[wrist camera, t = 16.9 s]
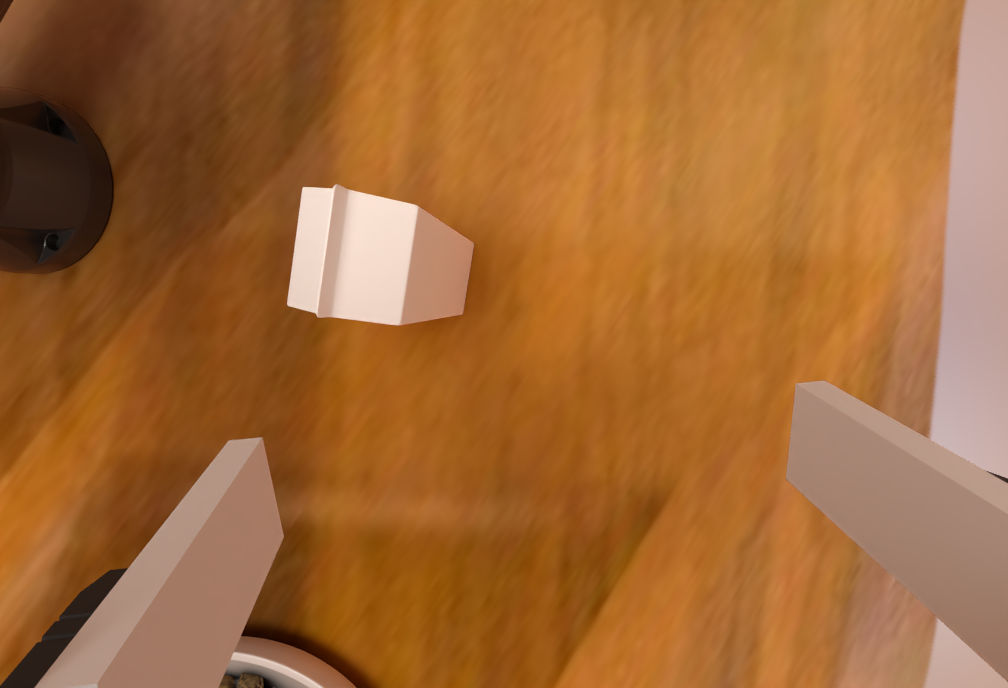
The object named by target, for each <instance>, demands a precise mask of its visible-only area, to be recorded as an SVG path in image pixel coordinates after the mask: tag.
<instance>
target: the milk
mask: <svg viewBox="0 0 1008 688" xmlns="http://www.w3.org/2000/svg"><path fill="white" fill-rule="evenodd" d="M473 249H474V243H473V242H472V241H470V240H469V239H467V238H466V237H464V236H463V235H461V234H460V233H458V232H456V231H455V230H453V229H452V228H450V227H449V226H447V225H446V224H444V223H443V222H441V221H440V220H438V219H437V218H435V217H434V216H432V215H431V214H429V213H428V212H426V211H425V210H423V209H422V208H420V207H419V206H417V205H414V204H410V203H405V202H401V201H396V200H392V199H388V198H383V197H379V196H374V195H370V194H366V193H361V192H357V191H352V190H348V189H346V188H344V187H342V186H340V185H337V184H336V185H335V186H334V187H333V188H315V187H303V189H302V195H301V203H300V210H299V218H298V225H297V233H296V240H295V248H294V255H293V263H292V270H291V278H290V285H289V293H288V300H287V305H288V306H290V307H294V308H298V309H301V310H305V311H309V312H313V313H316V315H317V317H319V318H324V317H334V318H342V319H350V320H358V321H366V322H373V323H381V324H389V325H405V324H411V323H417V322H422V321H428V320H434V319H440V318H445V317H451V316H457V315H462V314H463V310H464V304H465V298H466V292H467V286H468V280H469V273H470V267H471V261H472V255H473Z"/></svg>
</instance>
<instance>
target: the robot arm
mask: <svg viewBox="0 0 1008 688" xmlns="http://www.w3.org/2000/svg"><path fill="white" fill-rule="evenodd" d="M12 2H13V0H0V22H1V21H2V19H3V17H4V15H5V14H6V12H7V10H8V8H9V7H10V5H11V3H12ZM111 202H112V178H111V171H110V166H109V163H108V159H107V157H106V154H105V151H104V149H103V147H102V145H101V143H100V141H99V139H98V138H97V136H96V135H95V133H94V132H93V130H92V129H91V128H90V127H89V125H88V124H87V123H86V122H85V121H84V120H83V119H82V118H81V117H80V116H79V115H77V114H76V113H75V112H73V111H72V110H71V109H69V108H67V107H66V106H64V105H62V104H60V103H58V102H55V101H53V100H50V99H48V98H45V97H43V96H40V95H37V94H35V93H32V92H29V91H25V90H20V89H15V88H5V87H0V271H6V272H16V273H48V272H53V271H57V270H60V269H63V268H65V267H67V266H69V265H71V264H73V263H75V262H76V261H78V260H79V259H80V258H82V257H83V256H84V255H85V254H86V253H87V252H88V251H89V250H90V249H91V248H92V247H93V245H94V244H95V243H96V241H97V240H98V238H99V237H100V235H101V233H102V231H103V229H104V227H105V225H106V222H107V220H108V216H109V213H110V208H111ZM786 480H787V481H789V482H790V483H791V484H792V485H793V486H794V487H795V488H796V489H797V490H798V491H799V492H801V493H802V494H803V495H804V496H805V497H806V498H807V499H808V500H809V501H810V502H812V503H813V504H814V505H815V506H816V507H817V508H818V509H819V510H820V511H821V512H822V513H824V514H825V515H826V516H827V517H828V518H829V519H830V520H831V521H832V522H833V523H834V524H836V525H837V526H838V527H839V528H840V529H841V530H842V531H843V532H844V533H845V534H847V535H848V536H849V537H850V538H851V539H852V540H853V541H854V542H855V543H856V544H857V545H859V546H860V547H861V548H862V549H863V550H864V551H865V552H866V553H867V554H868V555H869V556H871V557H872V558H873V559H874V560H875V561H876V562H877V563H878V564H879V565H880V566H882V567H883V568H884V569H885V570H886V571H887V572H888V573H889V574H890V575H891V576H892V577H894V578H895V579H896V580H897V581H898V582H899V583H900V584H901V585H902V586H903V587H905V588H906V589H907V590H908V591H909V592H910V593H911V594H912V595H913V596H914V597H915V598H917V599H918V600H919V601H920V602H921V603H922V604H923V605H924V606H925V607H926V608H927V609H929V610H930V611H931V612H932V613H933V614H934V615H935V616H936V617H937V618H938V619H940V620H941V621H942V622H943V623H944V624H945V625H946V626H947V627H949V628H950V629H951V630H952V631H953V632H954V633H955V634H956V635H957V636H958V637H959V638H960V639H961V640H962V641H964V642H965V643H966V644H967V645H968V646H969V647H970V648H971V649H972V650H973V651H975V652H976V653H977V654H978V655H979V656H980V657H981V658H982V659H984V661H986V662H987V663H988V664H989V665H990V666H991V667H992V668H993V669H994V670H995V671H996V672H997V673H999V674H1000V675H1001V676H1002V677H1003V678H1004V679H1005V680H1006V681H1007V682H1008V479H1007V478H1004V477H1002V476H999V475H996V474H993V473H991V472H988V471H985V470H983V469H981V468H979V467H978V466H976V465H974V464H972V463H970V462H969V461H967V460H965V459H963V458H962V457H960V456H958V455H956V454H954V453H953V452H951V451H949V450H947V449H945V448H944V447H942V446H940V445H938V444H937V443H935V442H933V441H931V440H930V439H928V438H926V437H924V436H922V435H921V434H919V433H917V432H915V431H914V430H912V429H910V428H908V427H906V426H905V425H903V424H901V423H899V422H898V421H896V420H894V419H892V418H890V417H889V416H887V415H885V414H883V413H882V412H880V411H878V410H876V409H874V408H873V407H871V406H869V405H867V404H865V403H864V402H862V401H860V400H858V399H857V398H855V397H853V396H851V395H849V394H848V393H846V392H844V391H842V390H841V389H839V388H837V387H835V386H833V385H832V384H830V383H828V382H826V381H815V382H805V383H796V387H795V397H794V407H793V417H792V426H791V436H790V446H789V456H788V465H787V475H786ZM283 537H284V535H283V530H282V526H281V521H280V517H279V512H278V507H277V503H276V498H275V493H274V489H273V484H272V480H271V475H270V470H269V466H268V461H267V456H266V452H265V447H264V442H263V438H262V437H260V438H250V439H240V440H230V441H228V442H227V443H226V445H225V446H224V447H223V449H222V450H221V451H220V452H219V454H218V455H217V456H216V457H215V459H214V460H213V461H212V463H211V464H210V465H209V466H208V468H207V469H206V470H205V471H204V473H203V474H202V475H201V477H200V478H199V479H198V480H197V482H196V483H195V484H194V485H193V487H192V488H191V489H190V491H189V492H188V493H187V494H186V496H185V497H184V498H183V499H182V501H181V502H180V503H179V505H178V506H177V507H176V508H175V510H174V511H173V512H172V513H171V515H170V516H169V517H168V519H167V520H166V521H165V522H164V524H163V525H162V526H161V527H160V529H159V530H158V531H157V533H156V534H155V535H154V536H153V538H152V539H151V540H150V541H149V543H148V544H147V545H146V547H145V548H144V549H143V550H142V552H141V553H140V554H139V555H138V557H137V558H136V559H135V561H134V562H133V563H132V564H131V566H130V567H129V568H125V569H117V570H110V571H108V572H107V573H106V574H104V575H103V576H102V577H100V578H99V579H98V580H96V581H95V582H94V583H92V584H91V585H89V586H88V587H87V588H85V589H84V590H83V591H81V592H80V593H79V594H78V596H77V597H76V598H75V599H74V600H73V601H72V603H71V604H70V605H69V606H68V607H67V608H66V610H65V611H64V612H63V613H62V614H61V616H60V619H59V621H56V622H55V623H54V624H53V625H52V626H51V627H50V628H49V630H48V631H47V632H46V633H45V634H44V635H43V637H42V641H41V642H38V643H37V644H36V645H35V646H34V647H33V648H32V649H31V651H30V652H29V653H28V654H27V655H26V656H25V658H24V659H23V660H22V661H21V662H20V663H19V665H18V666H17V667H16V668H15V669H14V670H13V672H12V673H11V674H10V675H9V676H8V678H7V679H6V680H5V681H4V682H3V683H2V685H1V686H0V688H219V685H220V683H221V681H222V678H223V676H224V674H225V671H226V669H227V667H228V664H229V662H230V660H231V658H232V655H233V653H234V651H235V648H236V646H237V644H238V641H239V639H240V637H241V634H242V632H243V630H244V627H245V625H246V623H247V621H248V618H249V616H250V614H251V611H252V609H253V607H254V604H255V602H256V600H257V597H258V595H259V593H260V591H261V588H262V586H263V584H264V581H265V579H266V577H267V574H268V572H269V570H270V567H271V565H272V563H273V561H274V558H275V556H276V554H277V551H278V549H279V547H280V544H281V542H282V540H283Z"/></svg>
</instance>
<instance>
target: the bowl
mask: <svg viewBox="0 0 1008 688" xmlns="http://www.w3.org/2000/svg"><path fill="white" fill-rule="evenodd" d="M219 688H356V687H355V686H354V685H353V684H352V683H351V682H350V681H349V680H348V679H347V678H346V677H344V676H343V675H342V674H341V673H339V672H338V671H337V670H335V669H334V668H333V667H331V666H330V665H328V664H327V663H325V662H323V661H322V660H320V659H318V658H317V657H315V656H313V655H311V654H309V653H307V652H305V651H303V650H300V649H298V648H295V647H293V646H290V645H287V644H284V643H280V642H276V641H273V640H268V639H263V638H256V637H247V636H241V637H240V639H239V641H238V644H237V646H236V648H235V651H234V653H233V655H232V658H231V660H230V662H229V664H228V667H227V669H226V671H225V674H224V676H223V678H222V681H221V683H220V685H219Z"/></svg>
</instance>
